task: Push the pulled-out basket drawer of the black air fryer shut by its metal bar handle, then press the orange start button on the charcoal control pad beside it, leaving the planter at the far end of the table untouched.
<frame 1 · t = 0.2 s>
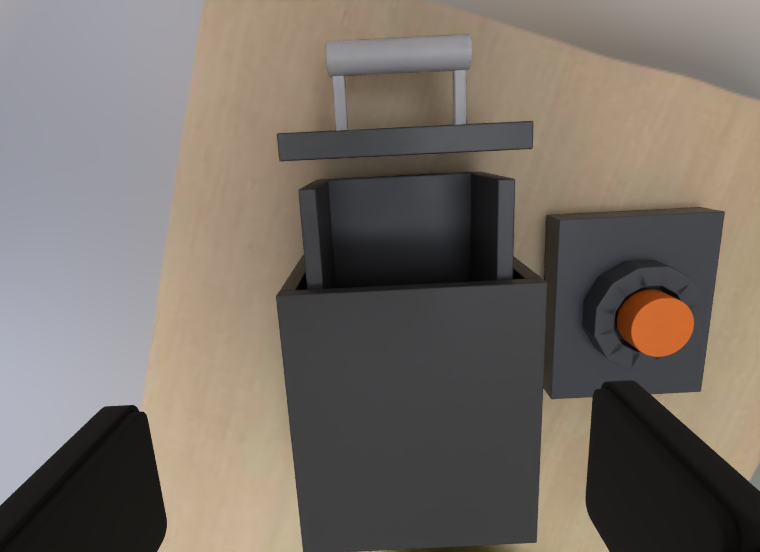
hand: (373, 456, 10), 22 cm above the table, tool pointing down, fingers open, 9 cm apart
start button: (654, 322, 28), point 4 cm above the table, slide at 0.1 cm
air fryer: (404, 351, 34), on the table
control pad: (617, 299, 33), on the table
basket: (403, 218, 26), point 5 cm above the table, slide at 6.0 cm
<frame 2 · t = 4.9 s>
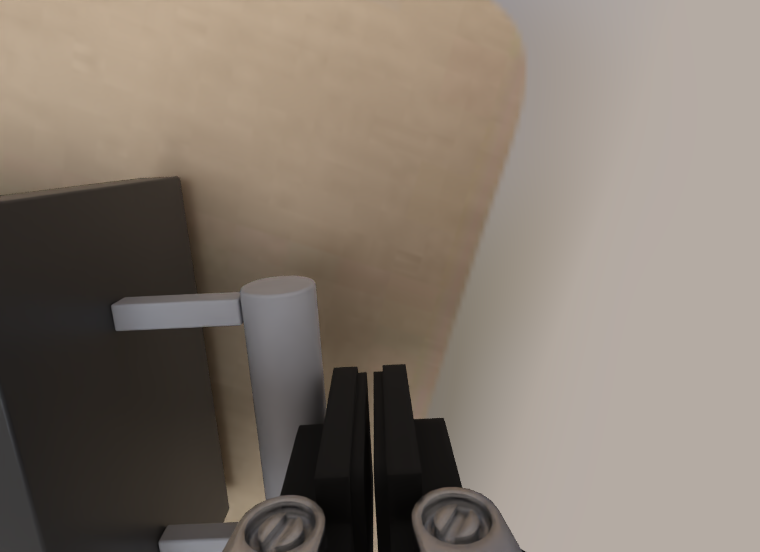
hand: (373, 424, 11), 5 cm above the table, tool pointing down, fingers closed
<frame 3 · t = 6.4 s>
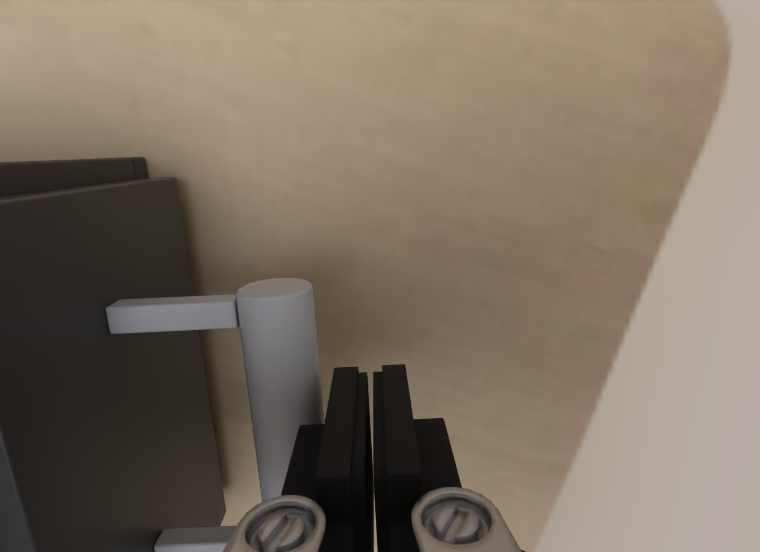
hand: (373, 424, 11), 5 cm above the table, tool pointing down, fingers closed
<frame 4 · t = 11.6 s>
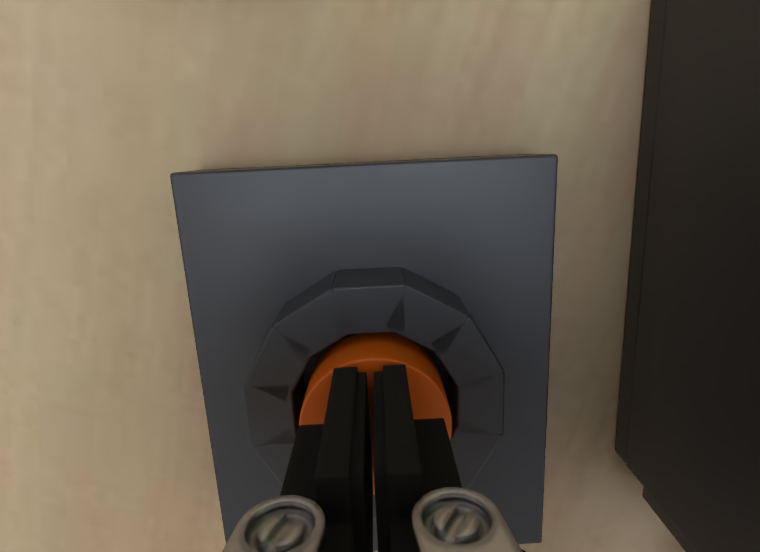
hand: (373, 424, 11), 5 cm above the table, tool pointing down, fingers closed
start button: (375, 410, 12), point 4 cm above the table, slide at -0.4 cm, touching gripper
control pad: (375, 348, 16), on the table
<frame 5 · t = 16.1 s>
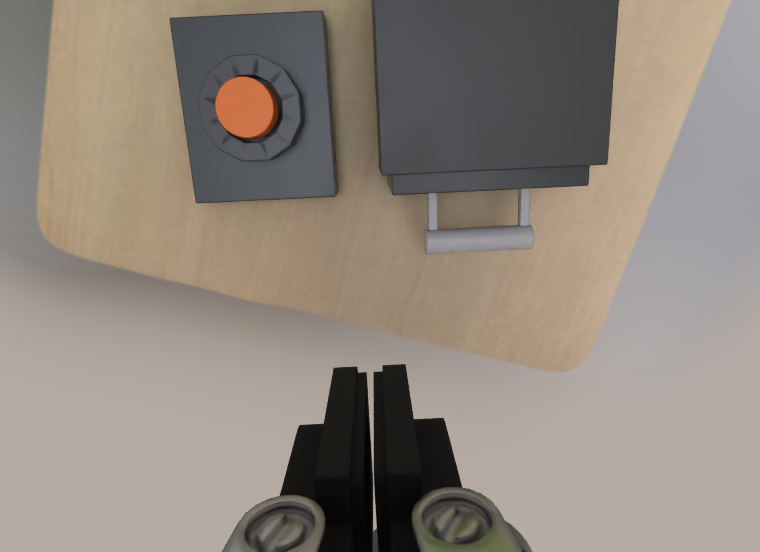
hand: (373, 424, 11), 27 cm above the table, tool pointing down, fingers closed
start button: (247, 108, 31), point 4 cm above the table, slide at 0.1 cm
air fryer: (463, 59, 34), on the table
control pad: (263, 113, 35), on the table
basket: (477, 111, 31), point 5 cm above the table, slide at 0.0 cm, touching air fryer
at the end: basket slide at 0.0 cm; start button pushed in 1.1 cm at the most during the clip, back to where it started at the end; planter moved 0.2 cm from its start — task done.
